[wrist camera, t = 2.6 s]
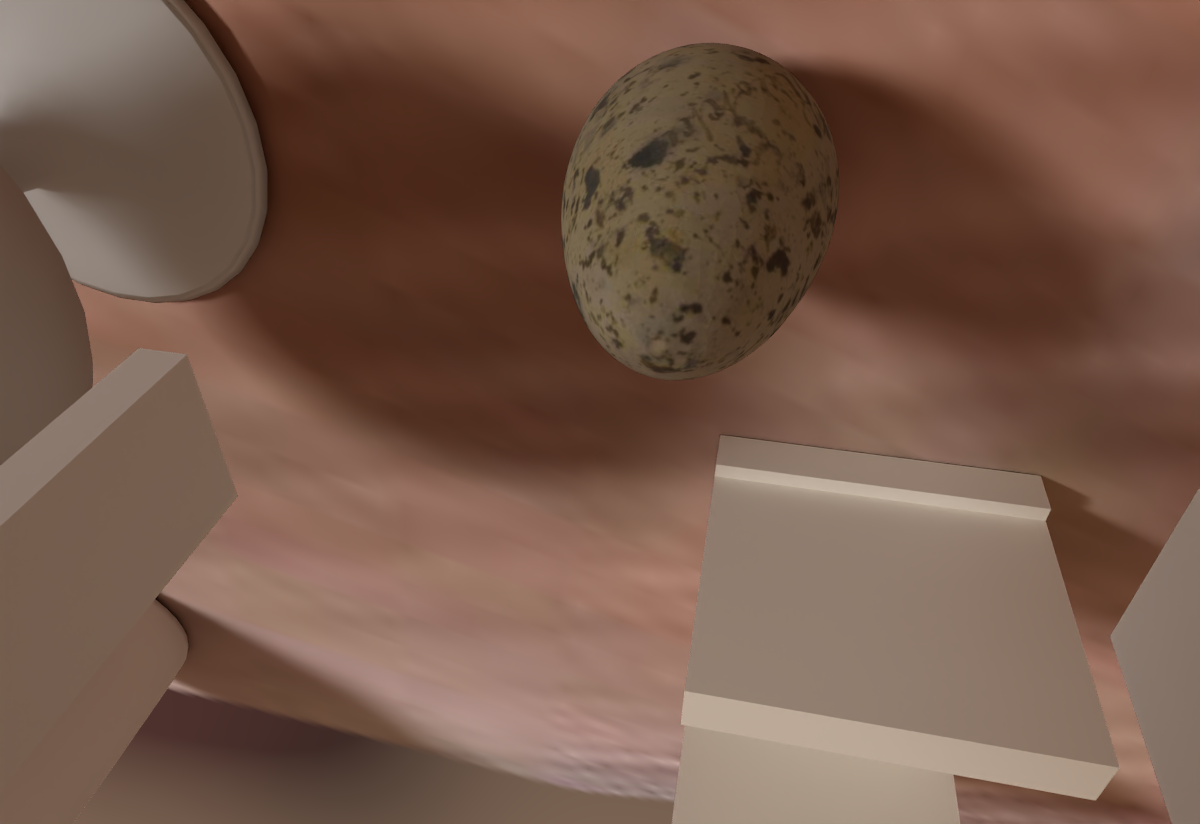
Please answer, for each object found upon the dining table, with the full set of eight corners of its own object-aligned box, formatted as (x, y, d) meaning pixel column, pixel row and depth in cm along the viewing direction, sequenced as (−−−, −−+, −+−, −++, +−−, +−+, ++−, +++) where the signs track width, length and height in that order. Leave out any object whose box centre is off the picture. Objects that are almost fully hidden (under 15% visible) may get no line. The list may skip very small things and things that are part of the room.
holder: (720, 434, 28) (685, 678, 20) (1040, 475, 26) (1128, 756, 19) (691, 682, 36) (659, 915, 29) (930, 724, 35) (961, 982, 27)
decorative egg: (886, 88, 20) (929, 295, 12) (751, 274, 24) (721, 521, 16) (673, -42, 19) (579, 92, 12) (567, 171, 23) (444, 378, 15)
